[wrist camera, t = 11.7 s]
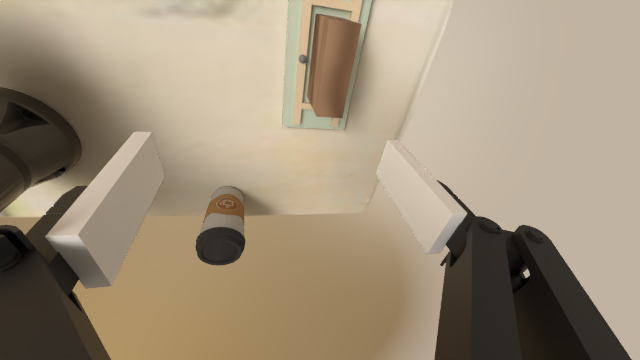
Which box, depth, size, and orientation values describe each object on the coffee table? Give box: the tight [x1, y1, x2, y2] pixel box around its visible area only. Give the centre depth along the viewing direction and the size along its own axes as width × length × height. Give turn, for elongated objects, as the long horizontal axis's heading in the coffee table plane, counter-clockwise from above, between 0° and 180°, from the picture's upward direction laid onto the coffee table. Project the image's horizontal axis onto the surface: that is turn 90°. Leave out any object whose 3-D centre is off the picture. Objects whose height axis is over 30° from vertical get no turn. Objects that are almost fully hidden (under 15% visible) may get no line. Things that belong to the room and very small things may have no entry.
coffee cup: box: [196, 186, 245, 265], centre depth 48 cm, size 8×8×15 cm
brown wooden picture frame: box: [307, 13, 362, 118], centre depth 36 cm, size 4×12×9 cm, turn 172°
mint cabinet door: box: [282, 0, 372, 130], centre depth 40 cm, size 12×24×3 cm, turn 172°
